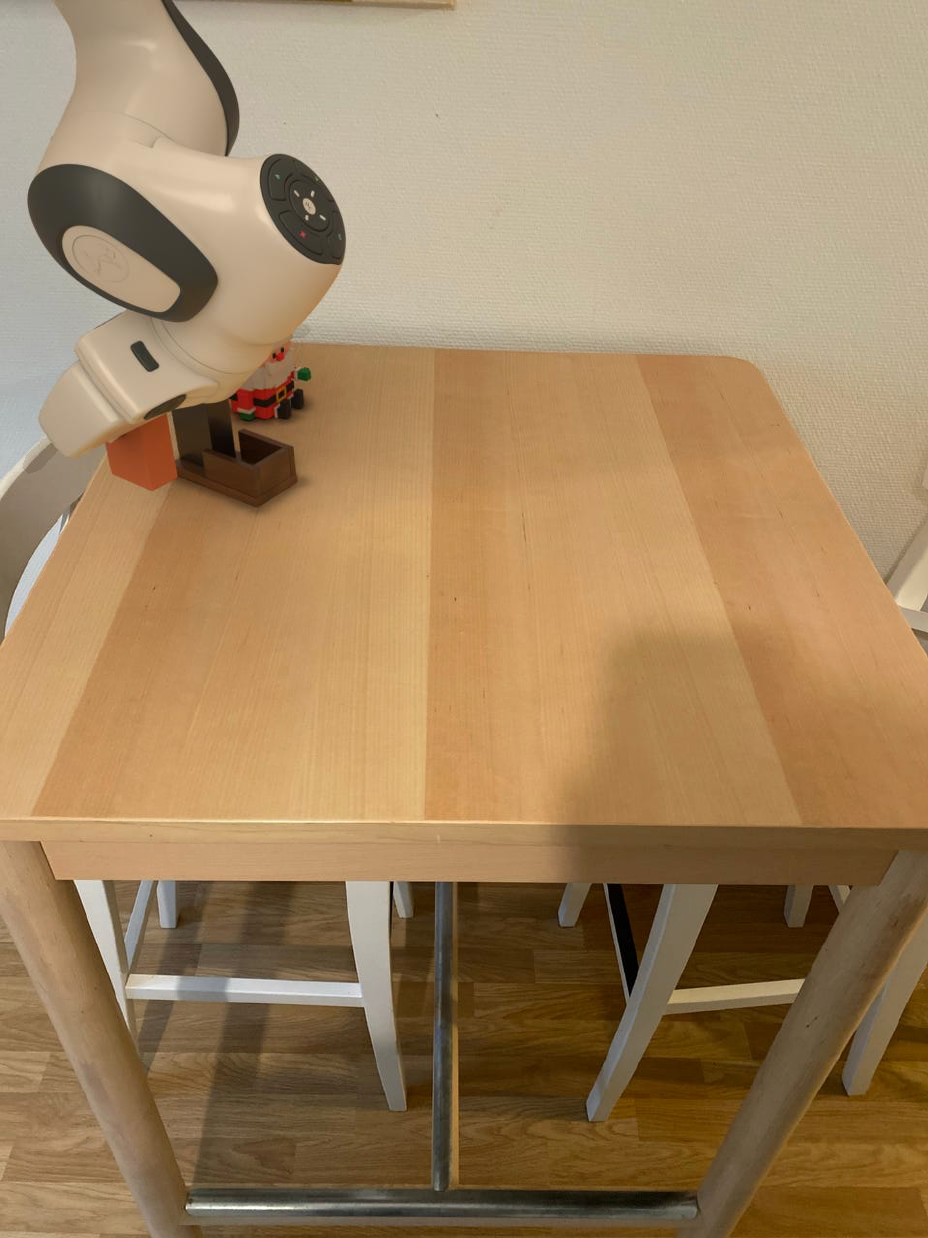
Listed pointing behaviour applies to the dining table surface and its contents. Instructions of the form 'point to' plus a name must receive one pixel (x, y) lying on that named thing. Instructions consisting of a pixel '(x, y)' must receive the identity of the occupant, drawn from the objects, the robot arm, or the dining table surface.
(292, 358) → the figurine
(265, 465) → the mount
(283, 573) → the dining table surface
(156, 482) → the orange rectangular block
